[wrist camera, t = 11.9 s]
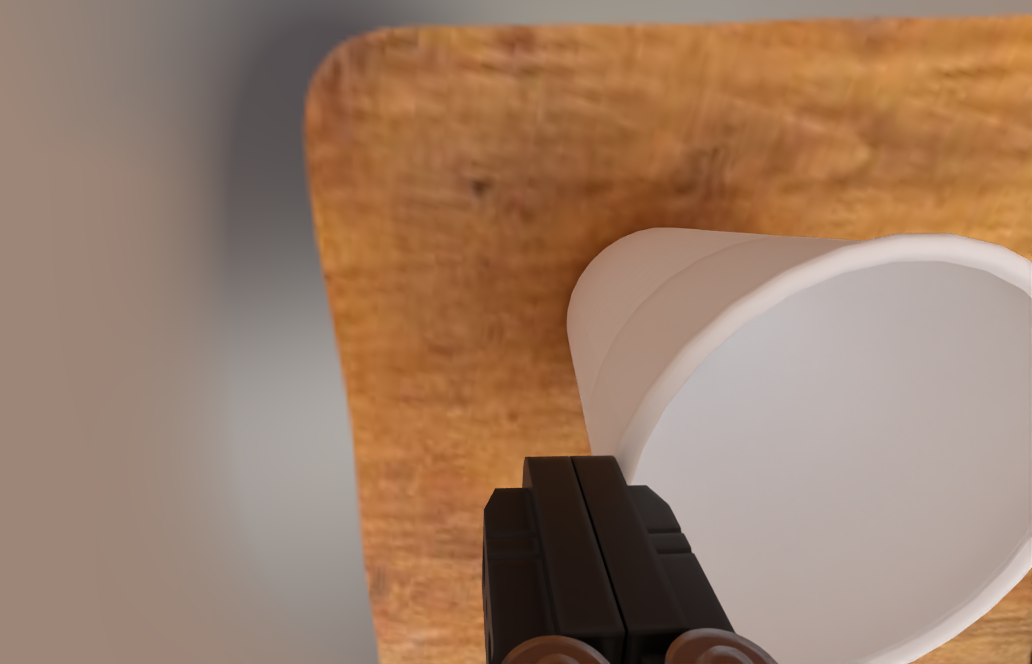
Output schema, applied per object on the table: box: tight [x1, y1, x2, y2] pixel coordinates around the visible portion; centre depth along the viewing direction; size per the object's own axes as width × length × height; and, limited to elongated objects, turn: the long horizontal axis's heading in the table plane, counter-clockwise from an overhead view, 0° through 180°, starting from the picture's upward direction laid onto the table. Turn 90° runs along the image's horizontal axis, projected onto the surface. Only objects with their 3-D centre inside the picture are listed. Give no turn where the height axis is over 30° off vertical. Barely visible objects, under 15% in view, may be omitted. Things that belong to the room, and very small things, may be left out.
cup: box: [567, 228, 1032, 664], centre depth 16 cm, size 10×10×11 cm
